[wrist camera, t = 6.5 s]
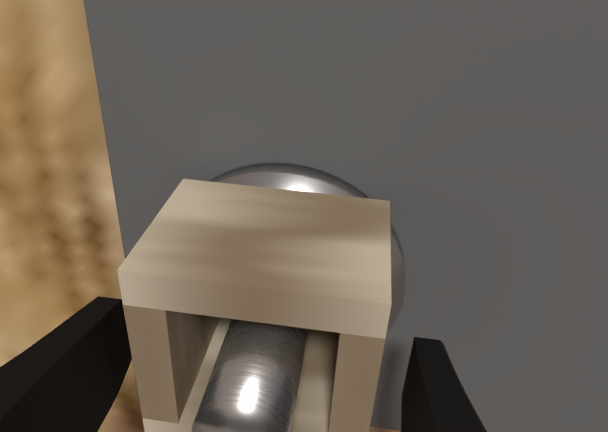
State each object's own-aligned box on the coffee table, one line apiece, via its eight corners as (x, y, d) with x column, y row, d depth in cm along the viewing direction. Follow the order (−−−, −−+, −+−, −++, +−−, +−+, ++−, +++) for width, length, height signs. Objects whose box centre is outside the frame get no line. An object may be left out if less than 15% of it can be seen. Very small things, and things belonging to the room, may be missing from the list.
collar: (390, 201, 13) (391, 303, 10) (366, 353, 16) (361, 474, 13) (183, 178, 14) (117, 270, 10) (195, 330, 17) (146, 441, 13)
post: (423, 176, 14) (445, 336, 9) (387, 368, 17) (389, 556, 12) (159, 150, 14) (40, 285, 9) (180, 340, 18) (101, 509, 13)
